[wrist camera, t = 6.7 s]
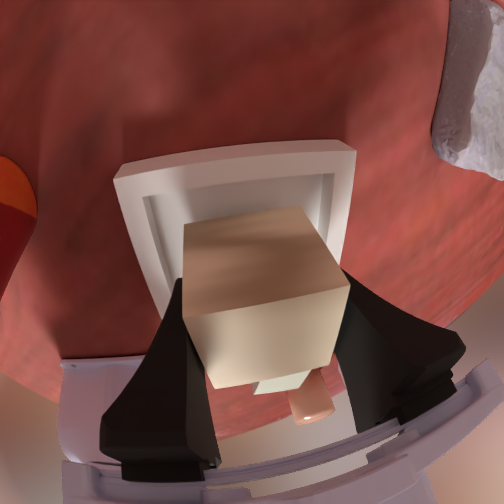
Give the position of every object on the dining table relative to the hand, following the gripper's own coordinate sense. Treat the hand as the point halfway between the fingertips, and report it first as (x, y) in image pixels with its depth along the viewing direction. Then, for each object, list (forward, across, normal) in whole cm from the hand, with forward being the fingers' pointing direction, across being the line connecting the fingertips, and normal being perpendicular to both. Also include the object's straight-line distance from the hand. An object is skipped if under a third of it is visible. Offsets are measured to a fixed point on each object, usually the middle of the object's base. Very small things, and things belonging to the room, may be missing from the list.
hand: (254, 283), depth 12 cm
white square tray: (+3, 0, 0) cm, 3 cm away
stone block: (+4, -17, -10) cm, 20 cm away
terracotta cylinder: (+3, -5, +18) cm, 19 cm away
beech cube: (+2, 0, 0) cm, 2 cm away
